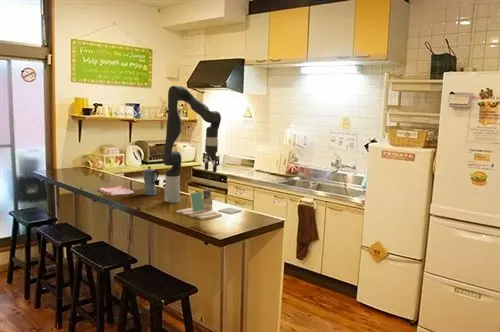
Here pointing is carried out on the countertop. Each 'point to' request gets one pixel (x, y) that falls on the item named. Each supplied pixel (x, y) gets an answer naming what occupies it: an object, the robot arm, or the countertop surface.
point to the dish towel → (116, 191)
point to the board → (199, 214)
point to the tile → (196, 202)
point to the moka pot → (150, 181)
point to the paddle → (207, 199)
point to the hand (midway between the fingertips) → (210, 171)
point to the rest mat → (230, 210)
